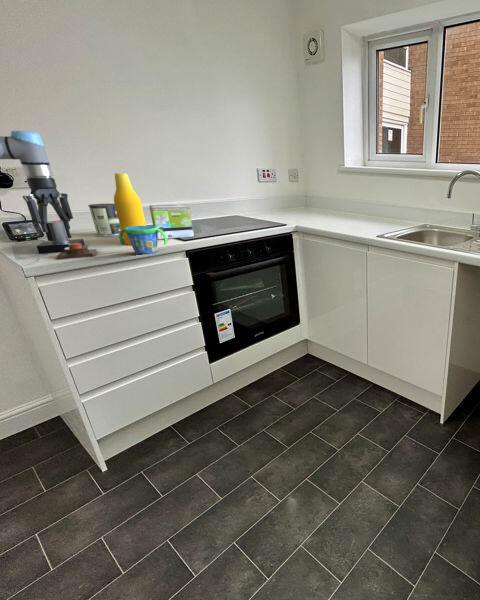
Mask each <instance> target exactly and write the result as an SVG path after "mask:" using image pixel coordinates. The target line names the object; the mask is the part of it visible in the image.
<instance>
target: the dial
mask: <svg viewBox="0 0 480 600" xmlns="http://www.w3.org/2000/svg"><path fill="white" fill-rule="evenodd" d="M47 224H50V225H51V228H52V231H53V234H54V237H55V240H56V241H52V243H66V242H69V240H70V238H68V236H67V232H66V229H65V226H64V223H63V221H62V220H61V219H59V220H48V221H47Z"/></svg>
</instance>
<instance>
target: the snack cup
mask: <svg viewBox="0 0 480 600" xmlns="http://www.w3.org/2000/svg"><path fill="white" fill-rule="evenodd" d="M124 231H125V232H126V233H127V235H128V237H129V240H130V242H131V245H130V246H132V249H133V252H134V253H135V254H136V255H139V256H141V255H153V254H157V253H158V251H159V243H158V241H159V240H158V239H157V235H158V231H159V232H160V233H161V234H162V235H163V236H164V239H163V244H164V245H165V246H167V244H168V238H167V237H166V235H165V233H164V232H163V231H162V230H161V229H158V228H157V227H156V226H153V225H147V224H146V226H131V227H126V228H125V229H124V230H122V231H121V232H120V235H118V236H119V237H118V238H119V242H120V244H121V245H122V246H125V245H126V244H125V241H124V239H123V232H124Z"/></svg>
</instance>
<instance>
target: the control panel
mask: <svg viewBox="0 0 480 600" xmlns="http://www.w3.org/2000/svg"><path fill="white" fill-rule="evenodd" d="M73 243H81V245H82V246H86V242H85V240H84V238H74V239H72V238H71V239H69V242H66V243H52V241H48V240H43V241H42V242H40V243H38V245H36V249H37V250H36V251H37V253H38V254H40V255H41V254H57V253H61V252H63V251H64V248H67V247H69V244H73Z"/></svg>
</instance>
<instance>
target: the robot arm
mask: <svg viewBox="0 0 480 600" xmlns="http://www.w3.org/2000/svg"><path fill="white" fill-rule="evenodd" d="M0 160H19V161H20V165H21V167H22V170H23V173H24V175H25V177H26V183H27V185H28V188H29V189H30V194H27V195H22V198H23V200H24V201H25V203H26V205H27V209H28V212H29V214H30V218H31V221H32V223H35V224H39V225H40V228H41V231H42V233H45V236H46V239H47V241H56V240H55V237H54V234H53V231H52V228H51V225H50V224H47V222H48V205H51V207H52V208H53V210H54V211H55V213H56V215H57V216H58V218H59V220H62V221H63V223H64V226H65V229H66V232H67V236H68V239H72V235H71V232H70V230H71V225H70V222H71V220H73V219H74V217H73V213H72V210H71V206H70V204H69V200H68V197H69V196H68V194H67V193H64V192H59V191H58V189H57V182H56V179H55V178H54V172H53V170H52V167H51V164H50V160H49V158H48V154H47V149H46V147H45V145H44V142H43V139H42V136H41V134H39V133H38V132H36V131H27V130H11V131H10V136H9V135H8V136H7V135H6V136H2V135H1V136H0ZM35 200H36V201H35Z"/></svg>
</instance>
